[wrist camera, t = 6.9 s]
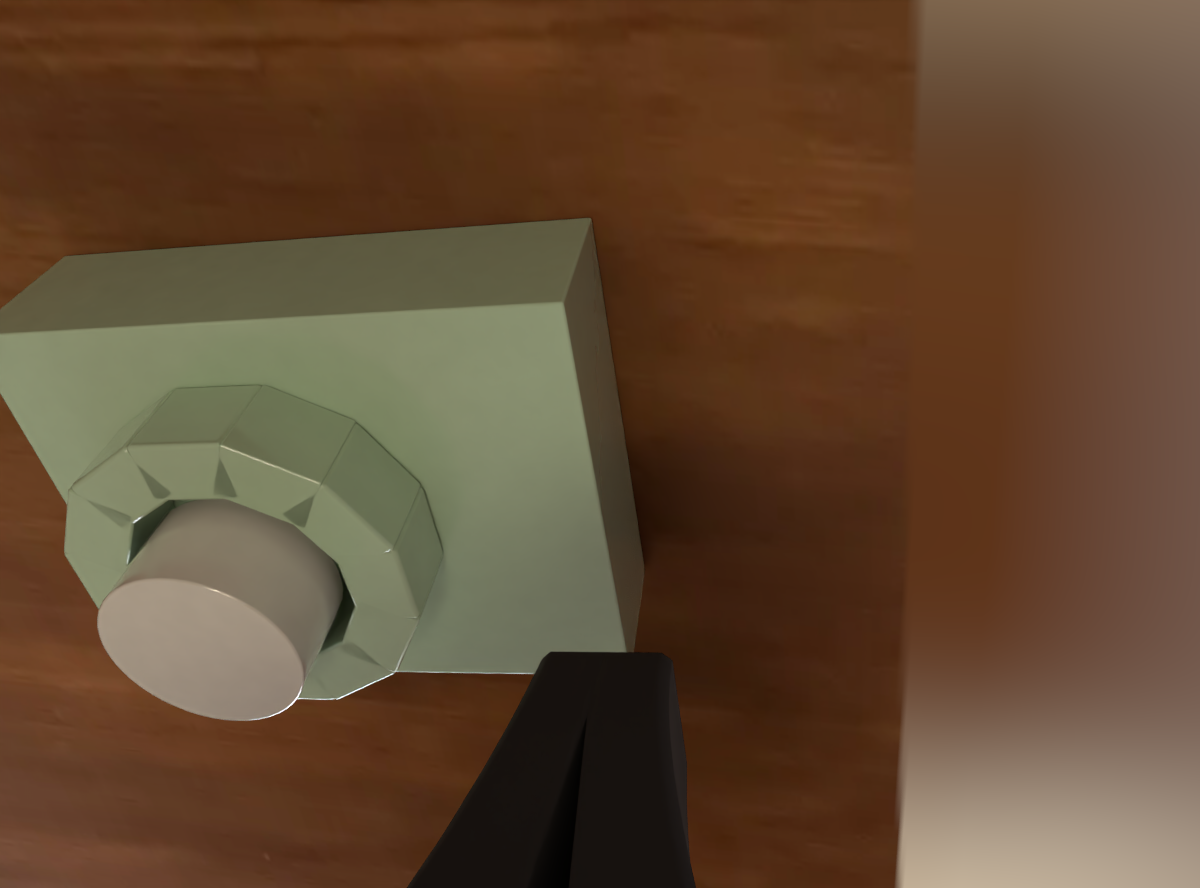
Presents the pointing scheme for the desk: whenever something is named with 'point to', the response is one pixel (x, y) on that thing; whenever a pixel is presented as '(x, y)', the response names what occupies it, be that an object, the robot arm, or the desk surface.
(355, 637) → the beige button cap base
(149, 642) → the beige button cap
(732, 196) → the desk surface
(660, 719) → the robot arm
